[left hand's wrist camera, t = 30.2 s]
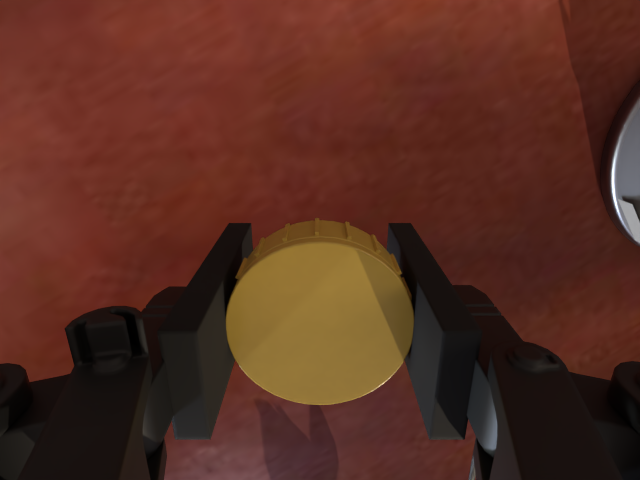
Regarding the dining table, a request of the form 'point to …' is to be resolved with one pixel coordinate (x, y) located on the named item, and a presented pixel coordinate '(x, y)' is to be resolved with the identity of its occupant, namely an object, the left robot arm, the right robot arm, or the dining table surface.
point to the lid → (320, 313)
